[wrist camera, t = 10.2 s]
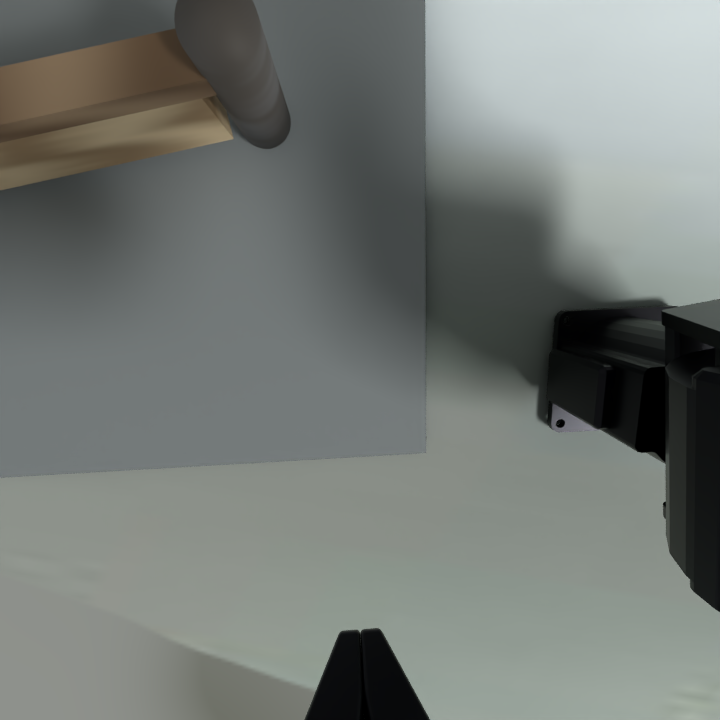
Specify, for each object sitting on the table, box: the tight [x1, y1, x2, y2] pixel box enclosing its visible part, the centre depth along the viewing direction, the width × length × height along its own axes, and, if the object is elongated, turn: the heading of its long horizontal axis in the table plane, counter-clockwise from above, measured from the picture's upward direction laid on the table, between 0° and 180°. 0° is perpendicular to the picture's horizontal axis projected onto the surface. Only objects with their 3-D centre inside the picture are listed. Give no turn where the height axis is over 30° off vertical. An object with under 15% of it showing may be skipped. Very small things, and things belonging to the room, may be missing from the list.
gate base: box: [0, 0, 426, 478], centre depth 15 cm, size 24×21×7 cm
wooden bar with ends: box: [0, 0, 291, 190], centre depth 13 cm, size 16×2×6 cm, turn 102°
